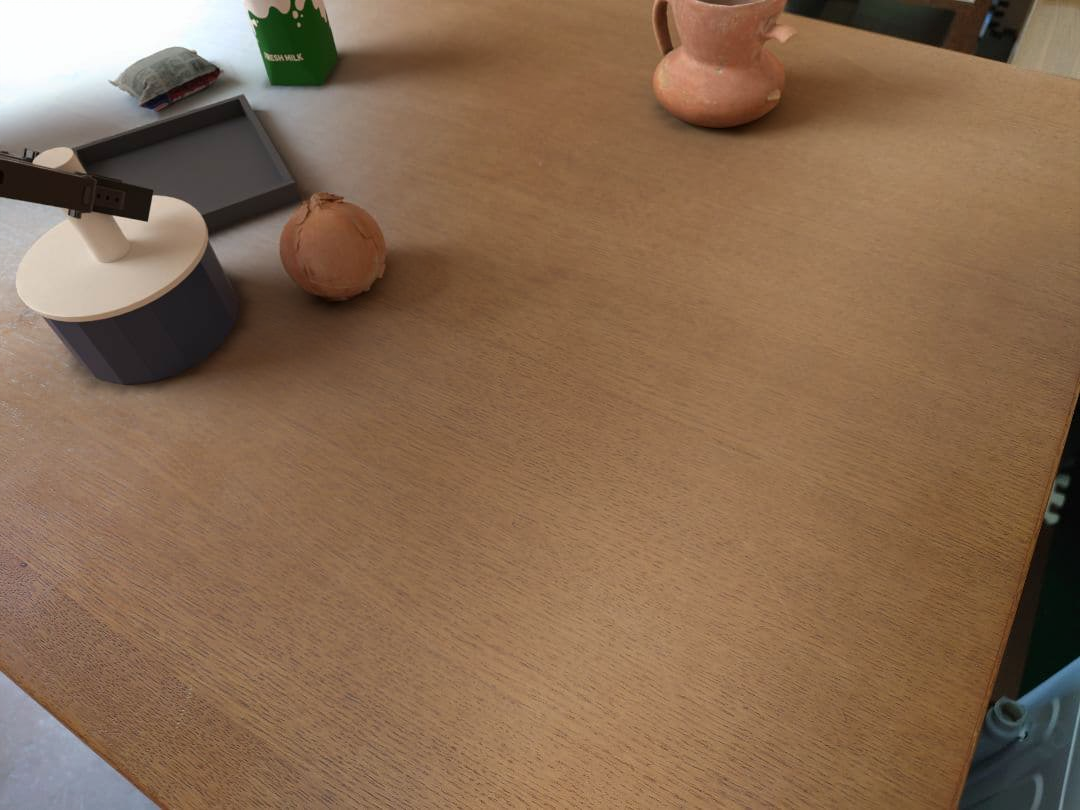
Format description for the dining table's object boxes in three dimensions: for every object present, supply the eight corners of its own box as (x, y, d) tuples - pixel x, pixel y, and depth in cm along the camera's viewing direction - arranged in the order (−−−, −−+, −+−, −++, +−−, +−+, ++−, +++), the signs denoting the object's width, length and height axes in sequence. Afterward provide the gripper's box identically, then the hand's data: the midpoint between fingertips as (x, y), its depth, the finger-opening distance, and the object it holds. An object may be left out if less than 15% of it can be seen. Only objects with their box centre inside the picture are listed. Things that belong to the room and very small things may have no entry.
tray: (80, 168, 91) (68, 149, 89) (251, 113, 96) (243, 93, 94) (107, 273, 78) (94, 252, 76) (302, 202, 83) (294, 182, 81)
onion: (342, 285, 79) (313, 186, 75) (417, 282, 75) (390, 176, 70) (276, 318, 72) (240, 210, 67) (355, 317, 67) (321, 201, 63)
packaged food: (118, 100, 100) (99, 63, 96) (200, 63, 105) (185, 27, 101) (149, 124, 96) (130, 87, 92) (233, 85, 101) (218, 48, 97)
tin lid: (16, 245, 69) (-61, 143, 61) (190, 185, 73) (139, 82, 65) (33, 355, 60) (-56, 252, 52) (230, 280, 64) (176, 174, 56)
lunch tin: (71, 310, 75) (19, 241, 68) (219, 256, 79) (183, 185, 72) (92, 411, 66) (35, 343, 60) (257, 345, 70) (220, 274, 63)
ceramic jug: (816, 107, 88) (845, -26, 77) (731, 162, 82) (749, 27, 71) (695, 55, 97) (706, -70, 86) (612, 102, 91) (612, -26, 80)
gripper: (-131, 81, 40) (211, 176, 62) (-295, 34, 46) (73, 136, 68) (-148, 223, 42) (193, 267, 64) (-306, 161, 47) (59, 222, 69)
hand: (131, 200), depth 66 cm, fingers closed on tin lid, 3 cm apart
